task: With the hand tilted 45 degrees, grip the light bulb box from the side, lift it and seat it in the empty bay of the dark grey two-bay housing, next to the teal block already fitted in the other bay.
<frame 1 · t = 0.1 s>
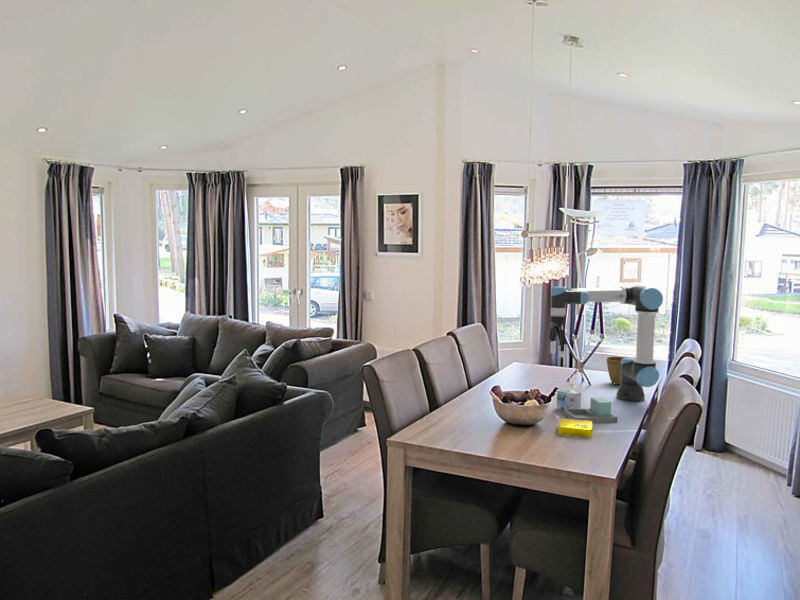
hand: (557, 355, 324), 28 cm above the table, tool pointing down, fingers open, 13 cm apart
housing: (589, 419, 302), on the table
plant pot: (618, 384, 382), on the table
light bulb box: (568, 411, 318), on the table
teal block: (600, 417, 303), point 1 cm above the table, touching housing
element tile: (575, 433, 282), on the table
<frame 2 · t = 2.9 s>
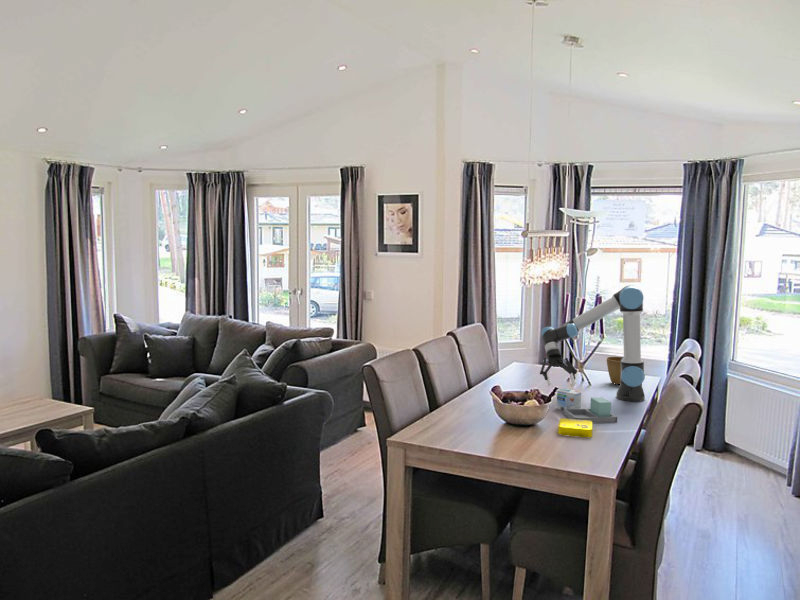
hand: (561, 384, 324), 12 cm above the table, tool tilted 45°, fingers open, 13 cm apart
nothing on the table moved.
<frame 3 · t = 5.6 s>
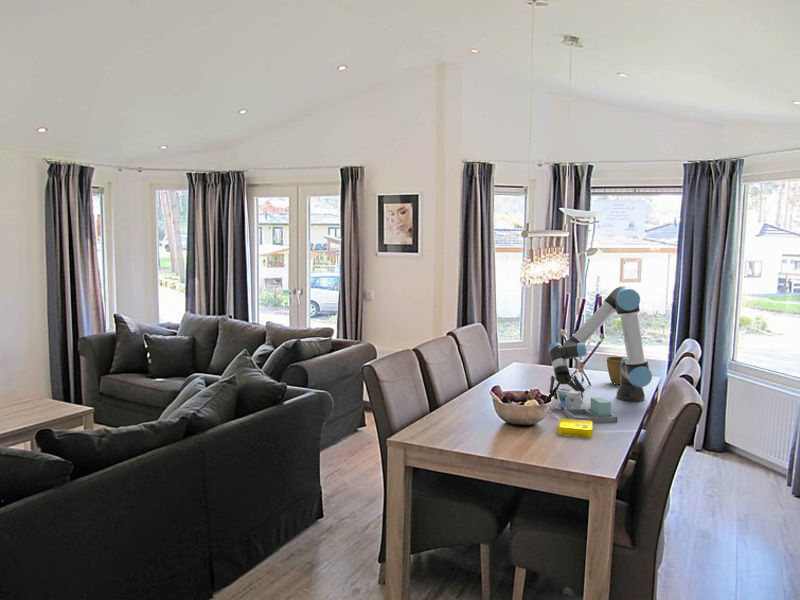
hand: (570, 404, 314), 4 cm above the table, tool tilted 45°, fingers closed on light bulb box, 11 cm apart
light bulb box: (568, 411, 318), on the table, touching gripper
everything else where it was.
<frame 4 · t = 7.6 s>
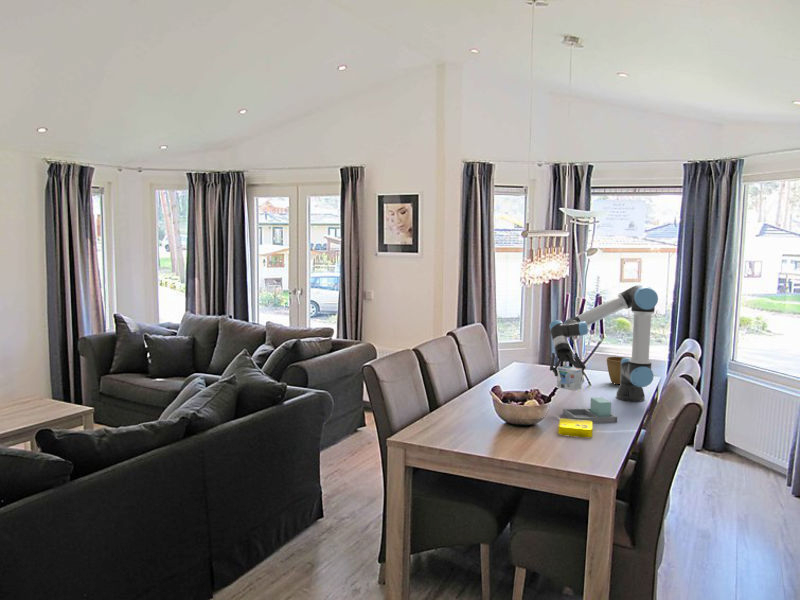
hand: (571, 381, 312), 17 cm above the table, tool tilted 45°, fingers closed on light bulb box, 11 cm apart
light bulb box: (568, 388, 315), point 12 cm above the table, touching gripper
everything else where it was.
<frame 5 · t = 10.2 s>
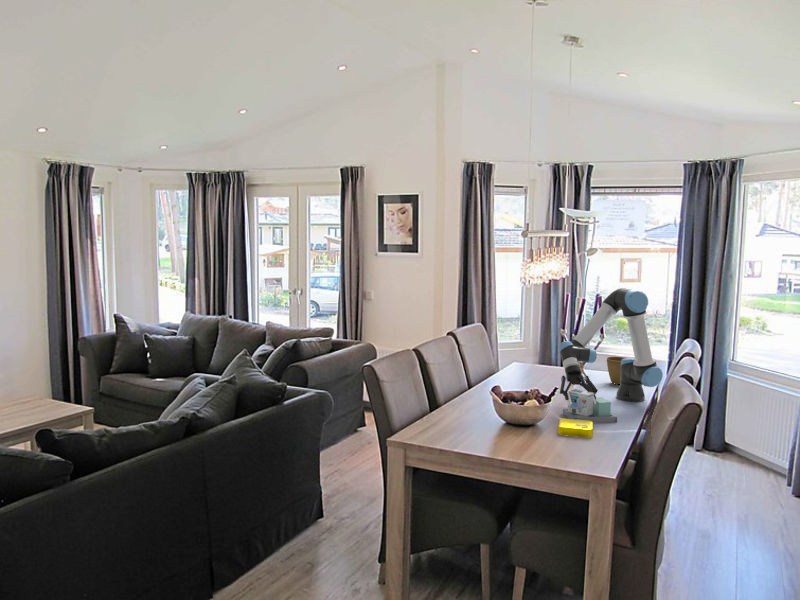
hand: (582, 405, 298), 8 cm above the table, tool tilted 45°, fingers closed on light bulb box, 12 cm apart
light bulb box: (580, 413, 301), point 3 cm above the table, touching gripper, housing
teal block: (600, 417, 303), point 1 cm above the table, touching gripper, housing
everything else where it was.
when the fingers open (8 cm above the table, at t = 10.9 s): light bulb box stays where it is, resting on housing.
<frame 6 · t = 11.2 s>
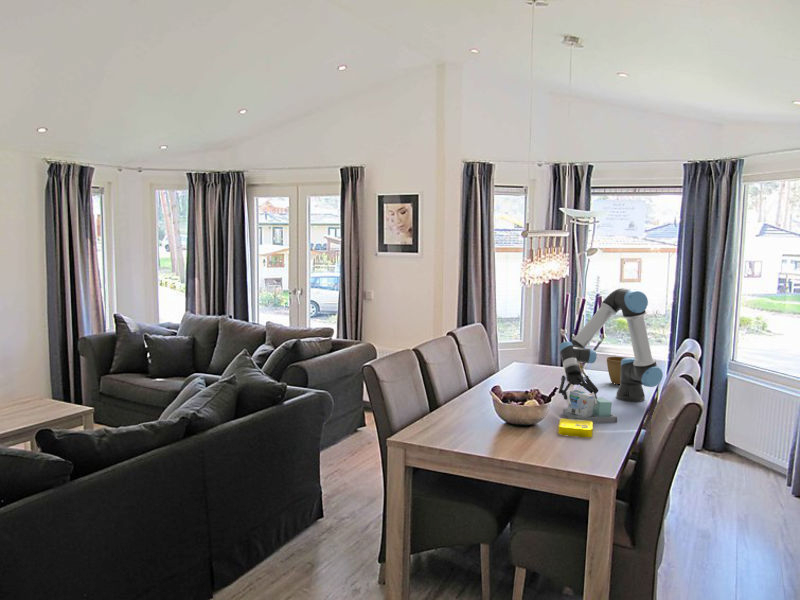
hand: (582, 404, 298), 8 cm above the table, tool tilted 45°, fingers open, 13 cm apart
light bulb box: (579, 414, 301), point 3 cm above the table, touching gripper, housing
everything else where it was.
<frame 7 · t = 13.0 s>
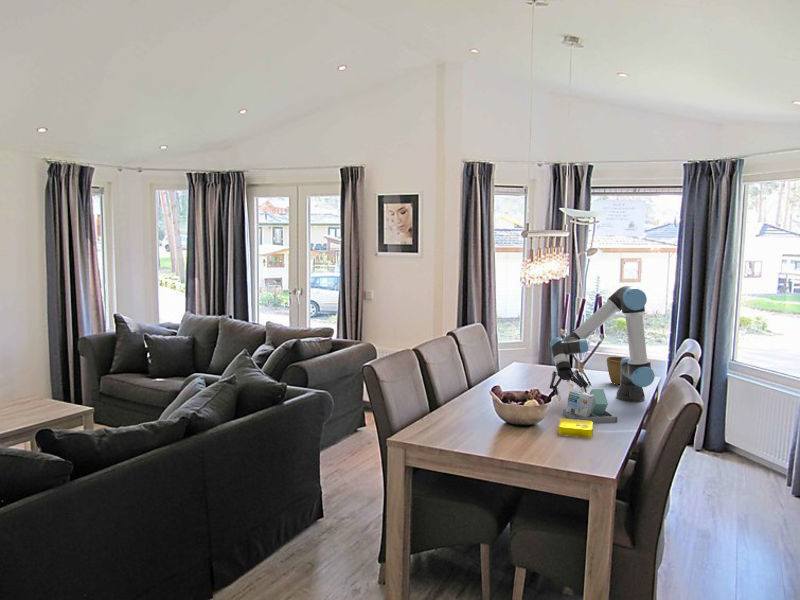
hand: (572, 399, 312), 7 cm above the table, tool tilted 45°, fingers open, 13 cm apart
light bulb box: (578, 414, 303), point 3 cm above the table, touching housing
teal block: (599, 409, 303), point 5 cm above the table, tilted 49°, touching housing
everything else where it was.
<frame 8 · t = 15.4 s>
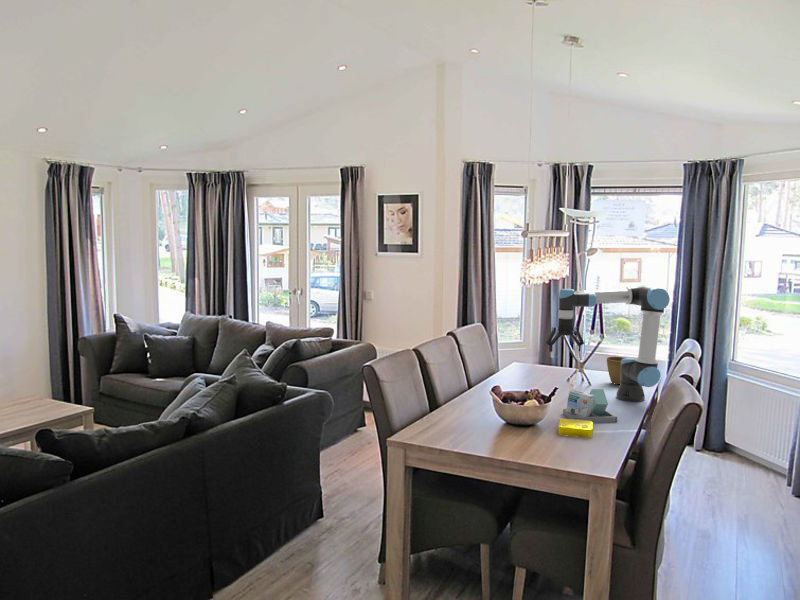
hand: (564, 357, 323), 27 cm above the table, tool pointing down, fingers open, 13 cm apart
nothing on the table moved.
at the end: light bulb box inside the target area on the housing (1.6 cm from its centre), point 2.5 cm above the housing's base; light bulb box tilted 8°; the gripper is holding nothing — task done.
